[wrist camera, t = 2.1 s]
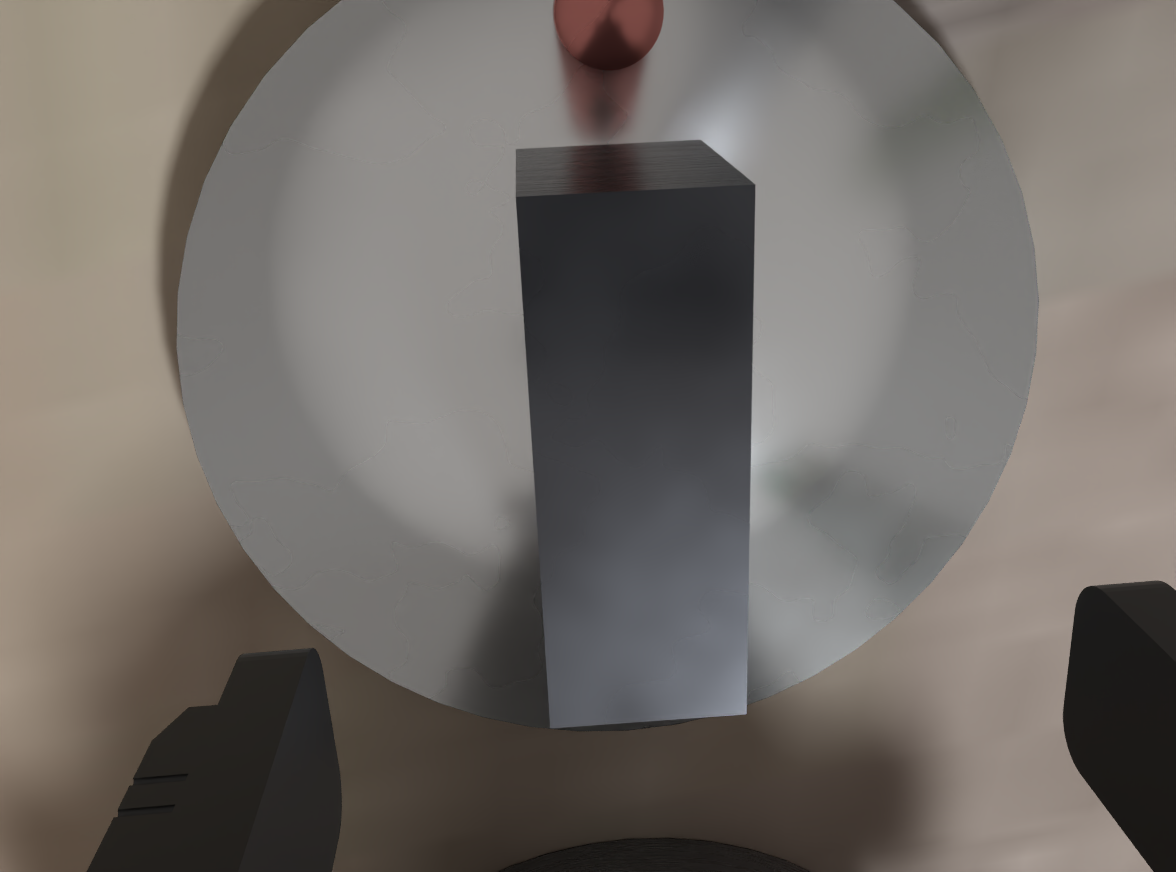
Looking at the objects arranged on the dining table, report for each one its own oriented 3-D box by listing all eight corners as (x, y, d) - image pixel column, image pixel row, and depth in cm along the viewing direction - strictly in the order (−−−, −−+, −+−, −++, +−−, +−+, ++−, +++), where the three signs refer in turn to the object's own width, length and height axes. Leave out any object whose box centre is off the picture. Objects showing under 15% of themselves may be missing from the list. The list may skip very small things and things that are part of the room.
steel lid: (264, 719, 23) (190, 933, 18) (118, -72, 17) (-52, -97, 12) (971, 670, 24) (1099, 862, 18) (1056, -110, 18) (1276, -150, 13)
